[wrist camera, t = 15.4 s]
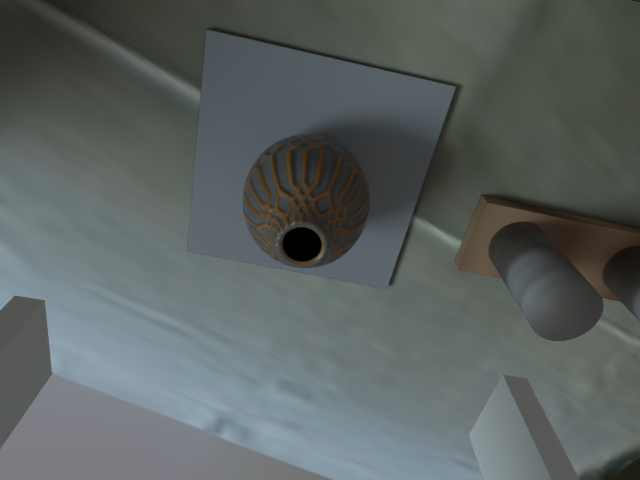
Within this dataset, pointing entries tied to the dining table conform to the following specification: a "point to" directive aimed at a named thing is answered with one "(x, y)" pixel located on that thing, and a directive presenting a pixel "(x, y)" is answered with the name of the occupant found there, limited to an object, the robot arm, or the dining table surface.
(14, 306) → the robot arm
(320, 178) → the vase
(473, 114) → the dining table surface
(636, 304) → the spacer rack
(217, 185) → the mat
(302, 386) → the dining table surface
